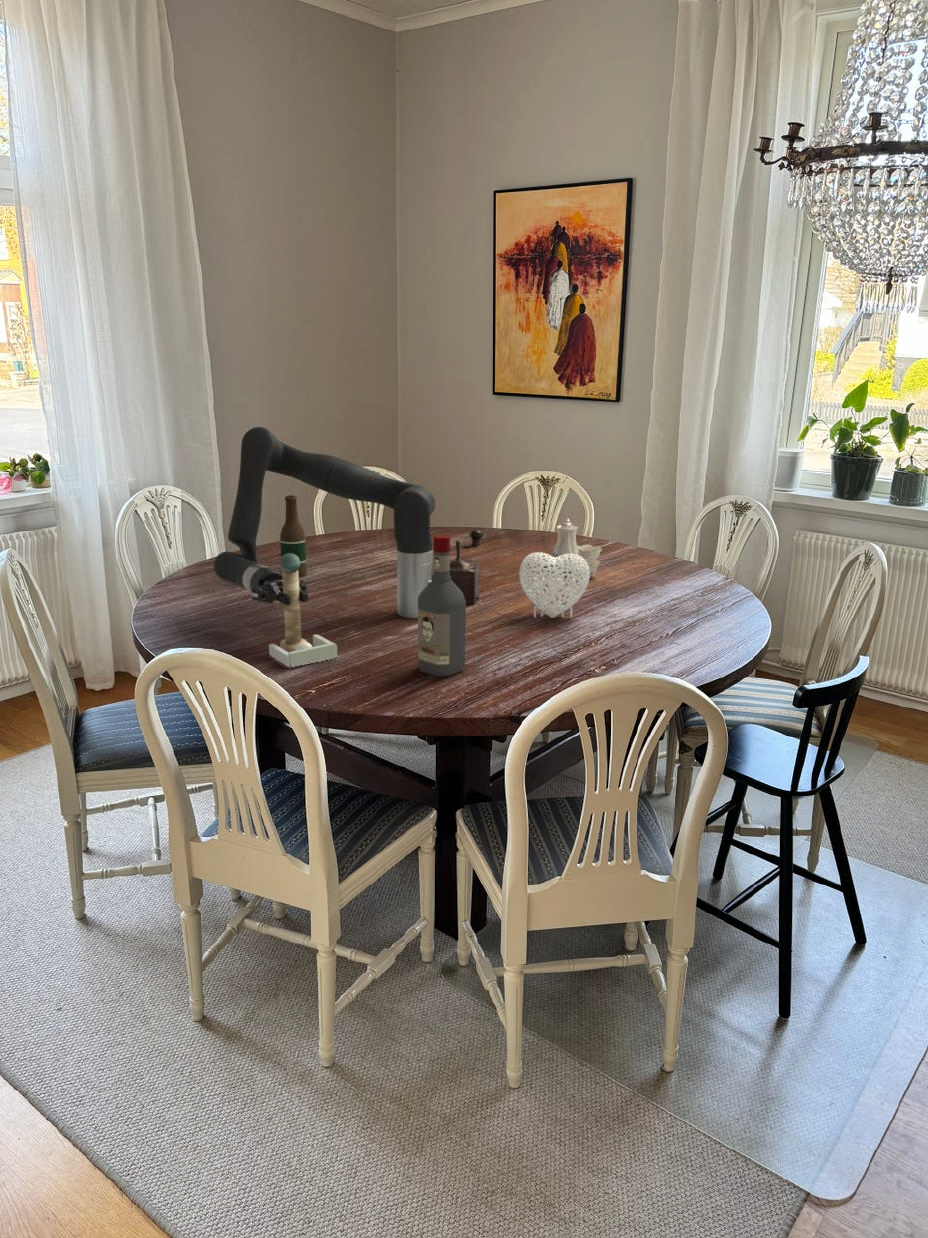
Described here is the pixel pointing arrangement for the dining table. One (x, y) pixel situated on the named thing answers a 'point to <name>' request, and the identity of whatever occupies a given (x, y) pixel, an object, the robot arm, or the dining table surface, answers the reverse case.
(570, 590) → the decorative heart
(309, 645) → the ball
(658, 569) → the dining table surface
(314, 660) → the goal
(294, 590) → the post
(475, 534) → the manual coffee grinder
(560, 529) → the chinaware
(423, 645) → the liquor
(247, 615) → the dining table surface
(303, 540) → the beer bottle
